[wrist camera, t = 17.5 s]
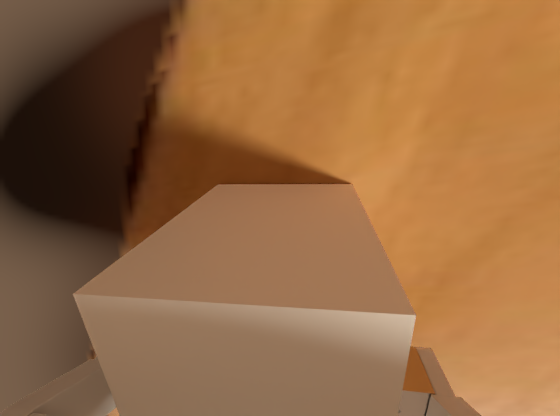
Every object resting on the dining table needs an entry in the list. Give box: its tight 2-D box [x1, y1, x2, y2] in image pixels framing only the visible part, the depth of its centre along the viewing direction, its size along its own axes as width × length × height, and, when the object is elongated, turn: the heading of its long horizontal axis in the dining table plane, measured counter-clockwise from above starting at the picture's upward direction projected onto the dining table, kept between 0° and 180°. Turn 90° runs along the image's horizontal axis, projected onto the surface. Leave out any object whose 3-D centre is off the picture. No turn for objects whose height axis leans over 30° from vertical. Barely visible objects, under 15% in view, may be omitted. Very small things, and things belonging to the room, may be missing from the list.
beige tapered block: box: [73, 184, 416, 416], centre depth 10 cm, size 7×7×9 cm
